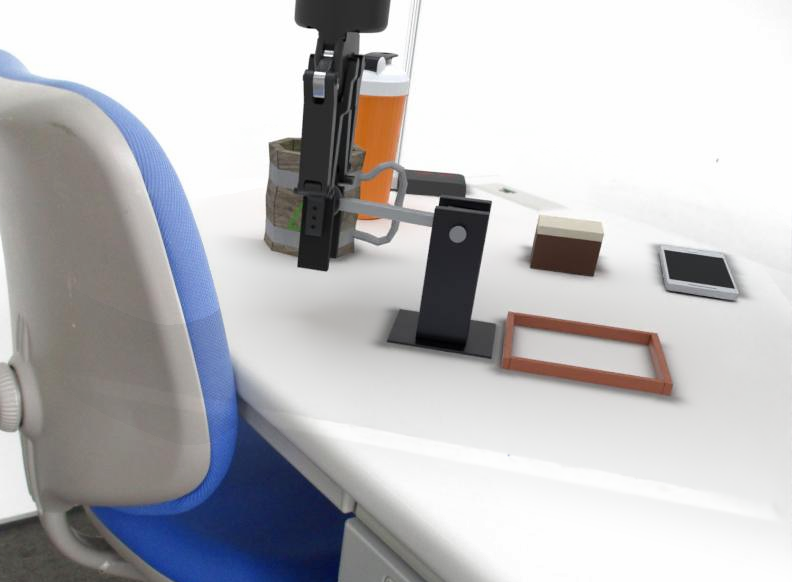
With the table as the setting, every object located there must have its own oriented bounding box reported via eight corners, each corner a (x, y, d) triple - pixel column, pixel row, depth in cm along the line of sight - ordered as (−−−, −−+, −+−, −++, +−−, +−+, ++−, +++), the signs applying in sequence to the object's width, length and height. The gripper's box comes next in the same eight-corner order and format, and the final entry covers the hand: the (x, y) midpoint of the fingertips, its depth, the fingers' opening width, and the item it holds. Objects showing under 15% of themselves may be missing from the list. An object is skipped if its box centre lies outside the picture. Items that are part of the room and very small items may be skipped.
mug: (253, 261, 97) (259, 152, 91) (269, 234, 106) (275, 133, 101) (395, 277, 95) (410, 165, 89) (398, 248, 104) (412, 145, 99)
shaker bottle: (401, 210, 120) (421, 54, 110) (381, 225, 112) (401, 60, 103) (340, 200, 123) (355, 48, 114) (317, 214, 116) (331, 53, 106)
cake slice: (591, 263, 103) (601, 221, 100) (593, 276, 98) (604, 233, 96) (530, 255, 104) (539, 214, 102) (529, 267, 100) (538, 225, 98)
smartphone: (721, 260, 106) (723, 252, 105) (737, 301, 93) (739, 293, 93) (658, 251, 108) (660, 244, 107) (665, 290, 95) (667, 282, 95)
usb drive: (465, 198, 127) (468, 179, 126) (382, 191, 129) (384, 172, 127) (463, 190, 132) (466, 171, 130) (384, 183, 133) (386, 165, 132)
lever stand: (385, 352, 77) (404, 209, 71) (398, 320, 84) (416, 187, 78) (489, 369, 75) (517, 223, 69) (493, 335, 82) (520, 199, 76)
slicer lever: (299, 219, 76) (304, 182, 75) (308, 210, 79) (313, 175, 77) (471, 251, 73) (480, 214, 72) (474, 241, 76) (482, 205, 74)
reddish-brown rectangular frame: (651, 353, 80) (657, 332, 79) (666, 406, 70) (673, 384, 69) (504, 330, 83) (508, 310, 82) (499, 378, 73) (503, 357, 72)
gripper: (321, -30, 76) (299, 232, 87) (271, -28, 62) (252, 283, 73) (407, -24, 74) (373, 242, 85) (375, -20, 60) (340, 297, 71)
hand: (317, 261), depth 79 cm, fingers closed on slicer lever, 3 cm apart
